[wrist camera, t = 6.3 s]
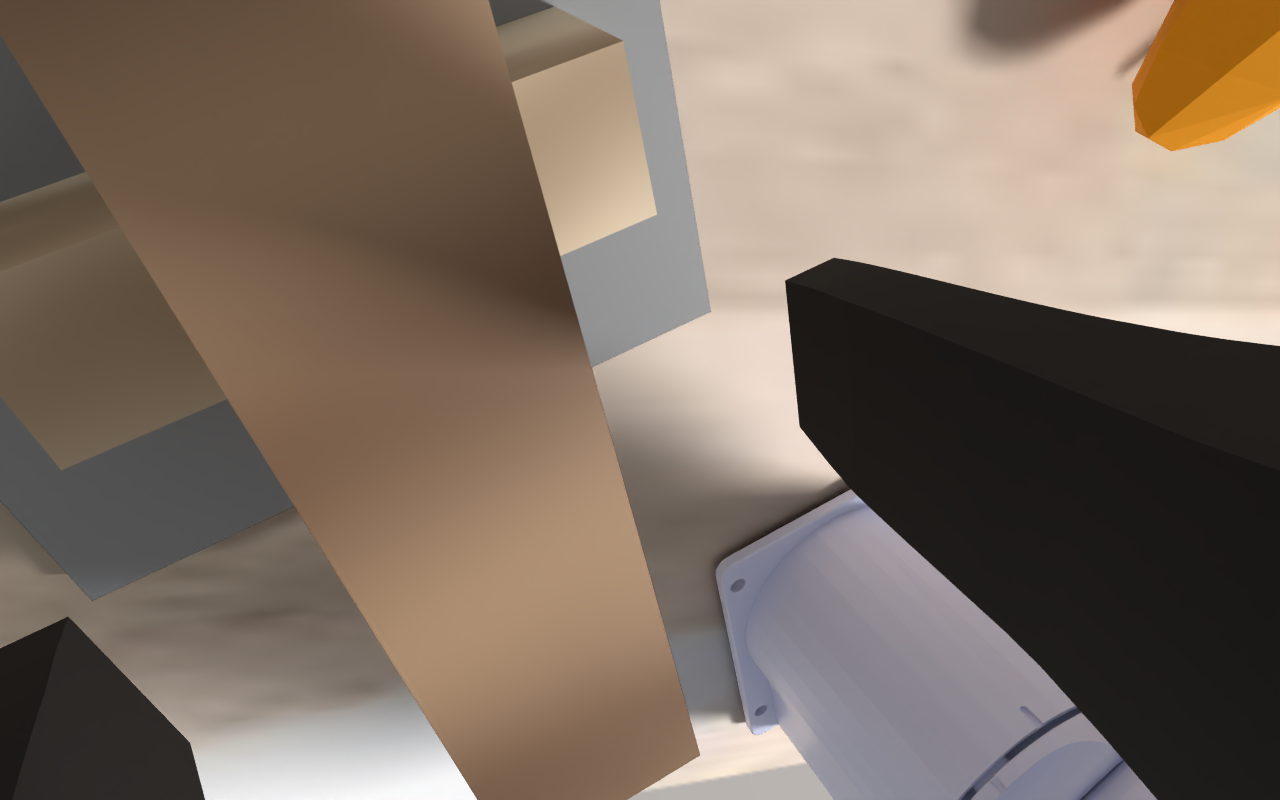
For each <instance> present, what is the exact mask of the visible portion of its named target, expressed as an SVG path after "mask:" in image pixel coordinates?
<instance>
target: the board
mask: <svg viewBox="0 0 1280 800" xmlns="http://www.w3.org/2000/svg"><path fill="white" fill-rule="evenodd" d="M489 4H490V7H491V11H492V14H493V18H494V21H495V25H496V27H498V26H501V25H503V24H506V23H509V22H512V21H515V20H518V19H520V18H523V17H526V16H529V15H532V14H535V13H537V12H540V11H543V10H546V9H549V8H552V7H554V6H555V7H557V8H559V9H561V10H563V11H565V12H567V13H569V14H571V15H573V16H575V17H577V18H579V19H581V20H583V21H585V22H587V23H589V24H591V25H593V26H595V27H597V28H599V29H601V30H603V31H605V32H607V33H609V34H611V35H613V36H615V37H617V38H619V39H621V40H623V42H624V47H625V52H626V57H627V62H628V68H629V73H630V78H631V83H632V88H633V93H634V98H635V104H636V109H637V114H638V119H639V124H640V129H641V134H642V139H643V145H644V150H645V155H646V160H647V165H648V170H649V175H650V181H651V186H652V191H653V196H654V201H655V206H656V211H657V215H655V216H652V217H650V218H648V219H646V220H643V221H641V222H639V223H636V224H634V225H632V226H629V227H627V228H625V229H622V230H620V231H618V232H615V233H613V234H611V235H608V236H606V237H604V238H601V239H599V240H597V241H594V242H592V243H590V244H587V245H585V246H583V247H580V248H578V249H576V250H573V251H571V252H569V253H566V254H564V255H562V256H560V257H561V260H562V264H563V268H564V271H565V275H566V278H567V282H568V285H569V289H570V293H571V296H572V300H573V303H574V307H575V310H576V314H577V318H578V321H579V325H580V328H581V332H582V335H583V339H584V343H585V346H586V350H587V353H588V357H589V360H590V364H591V367H594V366H596V365H598V364H600V363H602V362H604V361H606V360H609V359H611V358H613V357H615V356H617V355H619V354H621V353H624V352H626V351H628V350H630V349H632V348H634V347H636V346H639V345H641V344H643V343H645V342H647V341H649V340H651V339H653V338H656V337H658V336H660V335H662V334H664V333H666V332H668V331H671V330H673V329H675V328H677V327H679V326H681V325H683V324H686V323H688V322H690V321H692V320H694V319H696V318H698V317H701V316H703V315H705V314H707V313H709V312H711V309H710V303H709V297H708V291H707V285H706V279H705V273H704V267H703V261H702V255H701V249H700V243H699V237H698V231H697V224H696V218H695V212H694V206H693V200H692V194H691V188H690V182H689V176H688V170H687V164H686V158H685V152H684V146H683V140H682V134H681V128H680V122H679V115H678V109H677V103H676V97H675V91H674V85H673V79H672V73H671V67H670V61H669V55H668V49H667V43H666V37H665V31H664V25H663V19H662V13H661V6H660V0H489ZM84 172H86V171H85V170H84V168H83V166H82V165H81V163H80V162H79V160H78V158H77V157H76V155H75V154H74V152H73V150H72V149H71V147H70V146H69V144H68V142H67V141H66V139H65V138H64V136H63V134H62V133H61V131H60V130H59V128H58V126H57V125H56V123H55V122H54V120H53V118H52V117H51V115H50V114H49V112H48V110H47V109H46V107H45V106H44V104H43V102H42V101H41V99H40V98H39V96H38V94H37V93H36V91H35V90H34V88H33V86H32V85H31V83H30V82H29V80H28V78H27V77H26V75H25V74H24V72H23V70H22V69H21V67H20V66H19V64H18V62H17V61H16V59H15V57H14V56H13V54H12V53H11V51H10V49H9V48H8V46H7V45H6V43H5V41H4V40H3V38H2V37H1V35H0V202H2V201H5V200H8V199H10V198H13V197H16V196H19V195H22V194H25V193H27V192H30V191H33V190H36V189H39V188H42V187H44V186H47V185H50V184H53V183H56V182H59V181H61V180H64V179H67V178H70V177H73V176H76V175H78V174H81V173H84ZM0 501H1V502H2V504H3V505H4V506H5V507H6V508H7V509H8V510H9V511H10V512H11V513H12V514H13V516H14V517H15V518H16V519H17V520H18V521H19V522H20V523H21V524H22V525H23V526H24V527H25V529H26V530H27V531H28V532H29V533H30V534H31V535H32V536H33V537H34V538H35V539H36V541H37V542H38V543H39V544H40V545H41V546H42V547H43V548H44V549H45V550H46V551H47V552H48V554H49V555H50V556H51V557H52V558H53V559H54V560H55V561H56V562H57V563H58V564H59V566H60V567H61V568H62V569H63V570H64V571H65V572H66V573H67V574H68V575H69V576H70V577H71V579H72V580H73V581H74V582H75V583H76V584H77V585H78V586H79V587H80V588H81V589H82V591H83V592H84V593H85V594H86V595H87V596H88V597H89V598H90V599H91V600H92V601H93V600H95V599H97V598H99V597H102V596H104V595H106V594H108V593H110V592H112V591H114V590H117V589H119V588H121V587H123V586H125V585H127V584H129V583H132V582H134V581H136V580H138V579H140V578H142V577H144V576H147V575H149V574H151V573H153V572H155V571H157V570H159V569H162V568H164V567H166V566H168V565H170V564H172V563H174V562H176V561H179V560H181V559H183V558H185V557H187V556H189V555H191V554H194V553H196V552H198V551H200V550H202V549H204V548H206V547H209V546H211V545H213V544H215V543H217V542H219V541H221V540H224V539H226V538H228V537H230V536H232V535H234V534H236V533H239V532H241V531H243V530H245V529H247V528H249V527H251V526H253V525H256V524H258V523H260V522H262V521H264V520H266V519H268V518H271V517H273V516H275V515H277V514H279V513H281V512H283V511H286V510H288V509H290V508H292V507H294V505H293V503H292V501H291V500H290V498H289V497H288V495H287V493H286V492H285V490H284V489H283V487H282V485H281V484H280V482H279V481H278V479H277V477H276V476H275V474H274V473H273V471H272V469H271V468H270V466H269V465H268V463H267V461H266V460H265V458H264V457H263V455H262V453H261V452H260V450H259V449H258V447H257V445H256V444H255V442H254V441H253V439H252V437H251V436H250V434H249V433H248V431H247V429H246V428H245V426H244V425H243V423H242V421H241V420H240V418H239V417H238V415H237V413H236V412H235V410H234V409H233V407H232V405H231V404H230V402H229V401H228V399H226V400H224V401H222V402H219V403H217V404H215V405H212V406H210V407H208V408H205V409H203V410H201V411H198V412H196V413H194V414H191V415H189V416H187V417H184V418H182V419H180V420H177V421H175V422H173V423H170V424H168V425H166V426H163V427H161V428H159V429H156V430H154V431H152V432H149V433H147V434H145V435H142V436H140V437H138V438H135V439H133V440H131V441H128V442H126V443H124V444H121V445H119V446H117V447H114V448H112V449H110V450H107V451H105V452H103V453H100V454H98V455H96V456H93V457H91V458H89V459H86V460H84V461H82V462H79V463H77V464H75V465H72V466H70V467H68V468H65V469H63V470H61V469H60V468H59V467H58V466H57V464H56V463H55V462H54V461H53V460H52V458H51V457H50V456H49V455H48V454H47V452H46V451H45V450H44V449H43V448H42V446H41V445H40V444H39V443H38V442H37V440H36V439H35V438H34V437H33V436H32V434H31V433H30V432H29V431H28V430H27V428H26V427H25V426H24V425H23V424H22V422H21V421H20V420H19V419H18V417H17V416H16V415H15V414H14V413H13V411H12V410H11V409H10V408H9V407H8V405H7V404H6V403H5V402H4V401H3V399H2V398H1V397H0Z"/></svg>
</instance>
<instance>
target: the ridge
mask: <svg viewBox="0 0 1280 800" xmlns="http://www.w3.org/2000/svg"><path fill="white" fill-rule="evenodd" d="M496 29H497V32H498V36H499V39H500V43H501V46H502V50H503V54H504V57H505V61H506V64H507V68H508V71H509V75H510V79H511V82H512V86H513V89H514V93H515V96H516V100H517V104H518V107H519V111H520V114H521V118H522V121H523V125H524V128H525V132H526V136H527V139H528V143H529V146H530V150H531V153H532V157H533V161H534V164H535V168H536V171H537V175H538V178H539V182H540V186H541V189H542V193H543V196H544V200H545V203H546V207H547V211H548V214H549V218H550V221H551V225H552V228H553V232H554V236H555V239H556V243H557V246H558V250H559V253H560V256H562V255H564V254H566V253H569V252H571V251H573V250H576V249H578V248H580V247H583V246H585V245H587V244H590V243H592V242H594V241H597V240H599V239H601V238H604V237H606V236H608V235H611V234H613V233H615V232H618V231H620V230H622V229H625V228H627V227H629V226H632V225H634V224H636V223H639V222H641V221H643V220H646V219H648V218H650V217H652V216H655V215H657V211H656V206H655V201H654V196H653V191H652V186H651V181H650V175H649V170H648V165H647V160H646V155H645V150H644V145H643V139H642V134H641V129H640V124H639V119H638V114H637V109H636V104H635V98H634V93H633V88H632V83H631V78H630V73H629V68H628V62H627V57H626V52H625V47H624V42H623V40H621V39H619V38H617V37H615V36H613V35H611V34H609V33H607V32H605V31H603V30H601V29H599V28H597V27H595V26H593V25H591V24H589V23H587V22H585V21H583V20H581V19H579V18H577V17H575V16H573V15H571V14H569V13H567V12H565V11H563V10H561V9H559V8H557V7H555V6H554V7H552V8H549V9H546V10H543V11H540V12H537V13H535V14H532V15H529V16H526V17H523V18H520V19H518V20H515V21H512V22H509V23H506V24H503V25H501V26H498V27H496ZM0 397H1V398H2V399H3V401H4V402H5V403H6V404H7V405H8V407H9V408H10V409H11V410H12V411H13V413H14V414H15V415H16V416H17V417H18V419H19V420H20V421H21V422H22V424H23V425H24V426H25V427H26V428H27V430H28V431H29V432H30V433H31V434H32V436H33V437H34V438H35V439H36V440H37V442H38V443H39V444H40V445H41V446H42V448H43V449H44V450H45V451H46V452H47V454H48V455H49V456H50V457H51V458H52V460H53V461H54V462H55V463H56V464H57V466H58V467H59V468H60V469H61V470H63V469H65V468H68V467H70V466H72V465H75V464H77V463H79V462H82V461H84V460H86V459H89V458H91V457H93V456H96V455H98V454H100V453H103V452H105V451H107V450H110V449H112V448H114V447H117V446H119V445H121V444H124V443H126V442H128V441H131V440H133V439H135V438H138V437H140V436H142V435H145V434H147V433H149V432H152V431H154V430H156V429H159V428H161V427H163V426H166V425H168V424H170V423H173V422H175V421H177V420H180V419H182V418H184V417H187V416H189V415H191V414H194V413H196V412H198V411H201V410H203V409H205V408H208V407H210V406H212V405H215V404H217V403H219V402H222V401H224V400H226V399H227V397H226V396H225V394H224V392H223V391H222V389H221V388H220V386H219V384H218V383H217V381H216V380H215V378H214V376H213V375H212V373H211V372H210V370H209V368H208V367H207V365H206V364H205V362H204V360H203V359H202V357H201V356H200V354H199V352H198V351H197V349H196V348H195V346H194V344H193V343H192V341H191V340H190V338H189V336H188V335H187V333H186V332H185V330H184V328H183V327H182V325H181V324H180V322H179V320H178V319H177V317H176V316H175V314H174V312H173V311H172V309H171V308H170V306H169V304H168V303H167V301H166V300H165V298H164V296H163V295H162V293H161V292H160V290H159V288H158V287H157V285H156V283H155V282H154V280H153V279H152V277H151V275H150V274H149V272H148V271H147V269H146V267H145V266H144V264H143V263H142V261H141V259H140V258H139V256H138V255H137V253H136V251H135V250H134V248H133V247H132V245H131V243H130V242H129V240H128V239H127V237H126V235H125V234H124V232H123V231H122V229H121V227H120V226H119V224H118V223H117V221H116V219H115V218H114V216H113V215H112V213H111V211H110V210H109V208H108V207H107V205H106V203H105V202H104V200H103V199H102V197H101V195H100V194H99V192H98V191H97V189H96V187H95V186H94V184H93V183H92V181H91V179H90V178H89V176H88V175H87V173H86V172H84V173H81V174H78V175H76V176H73V177H70V178H67V179H64V180H61V181H59V182H56V183H53V184H50V185H47V186H44V187H42V188H39V189H36V190H33V191H30V192H27V193H25V194H22V195H19V196H16V197H13V198H10V199H8V200H5V201H2V202H0Z"/></svg>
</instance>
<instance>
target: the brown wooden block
mask: <svg viewBox="0 0 1280 800" xmlns="http://www.w3.org/2000/svg"><path fill="white" fill-rule="evenodd" d="M0 35H1V37H2V38H3V40H4V41H5V43H6V45H7V46H8V48H9V49H10V51H11V53H12V54H13V56H14V57H15V59H16V61H17V62H18V64H19V66H20V67H21V69H22V70H23V72H24V74H25V75H26V77H27V78H28V80H29V82H30V83H31V85H32V86H33V88H34V90H35V91H36V93H37V94H38V96H39V98H40V99H41V101H42V102H43V104H44V106H45V107H46V109H47V110H48V112H49V114H50V115H51V117H52V118H53V120H54V122H55V123H56V125H57V126H58V128H59V130H60V131H61V133H62V134H63V136H64V138H65V139H66V141H67V142H68V144H69V146H70V147H71V149H72V150H73V152H74V154H75V155H76V157H77V158H78V160H79V162H80V163H81V165H82V166H83V168H84V170H85V171H86V173H87V175H88V176H89V178H90V179H91V181H92V183H93V184H94V186H95V187H96V189H97V191H98V192H99V194H100V195H101V197H102V199H103V200H104V202H105V203H106V205H107V207H108V208H109V210H110V211H111V213H112V215H113V216H114V218H115V219H116V221H117V223H118V224H119V226H120V227H121V229H122V231H123V232H124V234H125V235H126V237H127V239H128V240H129V242H130V243H131V245H132V247H133V248H134V250H135V251H136V253H137V255H138V256H139V258H140V259H141V261H142V263H143V264H144V266H145V267H146V269H147V271H148V272H149V274H150V275H151V277H152V279H153V280H154V282H155V283H156V285H157V287H158V288H159V290H160V292H161V293H162V295H163V296H164V298H165V300H166V301H167V303H168V304H169V306H170V308H171V309H172V311H173V312H174V314H175V316H176V317H177V319H178V320H179V322H180V324H181V325H182V327H183V328H184V330H185V332H186V333H187V335H188V336H189V338H190V340H191V341H192V343H193V344H194V346H195V348H196V349H197V351H198V352H199V354H200V356H201V357H202V359H203V360H204V362H205V364H206V365H207V367H208V368H209V370H210V372H211V373H212V375H213V376H214V378H215V380H216V381H217V383H218V384H219V386H220V388H221V389H222V391H223V392H224V394H225V396H226V397H227V399H228V401H229V402H230V404H231V405H232V407H233V409H234V410H235V412H236V413H237V415H238V417H239V418H240V420H241V421H242V423H243V425H244V426H245V428H246V429H247V431H248V433H249V434H250V436H251V437H252V439H253V441H254V442H255V444H256V445H257V447H258V449H259V450H260V452H261V453H262V455H263V457H264V458H265V460H266V461H267V463H268V465H269V466H270V468H271V469H272V471H273V473H274V474H275V476H276V477H277V479H278V481H279V482H280V484H281V485H282V487H283V489H284V490H285V492H286V493H287V495H288V497H289V498H290V500H291V501H292V503H293V505H294V506H295V508H296V510H297V511H298V513H299V514H300V516H301V518H302V519H303V521H304V522H305V524H306V526H307V527H308V529H309V530H310V532H311V534H312V535H313V537H314V538H315V540H316V542H317V543H318V545H319V546H320V548H321V550H322V551H323V553H324V554H325V556H326V558H327V559H328V561H329V562H330V564H331V566H332V567H333V569H334V570H335V572H336V574H337V575H338V577H339V578H340V580H341V582H342V583H343V585H344V586H345V588H346V590H347V591H348V593H349V594H350V596H351V598H352V599H353V601H354V602H355V604H356V606H357V607H358V609H359V610H360V612H361V614H362V615H363V617H364V619H365V620H366V622H367V623H368V625H369V627H370V628H371V630H372V631H373V633H374V635H375V636H376V638H377V639H378V641H379V643H380V644H381V646H382V647H383V649H384V651H385V652H386V654H387V655H388V657H389V659H390V660H391V662H392V663H393V665H394V667H395V668H396V670H397V671H398V673H399V675H400V676H401V678H402V679H403V681H404V683H405V684H406V686H407V687H408V689H409V691H410V692H411V694H412V695H413V697H414V699H415V700H416V702H417V703H418V705H419V707H420V708H421V710H422V711H423V713H424V715H425V716H426V718H427V719H428V721H429V723H430V724H431V726H432V728H433V729H434V731H435V732H436V734H437V736H438V737H439V739H440V740H441V742H442V744H443V745H444V747H445V748H446V750H447V752H448V753H449V755H450V756H451V758H452V760H453V761H454V763H455V764H456V766H457V768H458V769H459V771H460V772H461V774H462V776H463V777H464V779H465V780H466V782H467V784H468V785H469V787H470V788H471V790H472V792H473V793H474V795H475V796H476V798H477V800H627V799H629V798H631V797H632V796H634V795H635V794H637V793H639V792H640V791H642V790H644V789H645V788H647V787H649V786H650V785H652V784H654V783H655V782H657V781H659V780H660V779H662V778H664V777H665V776H667V775H668V774H670V773H672V772H673V771H675V770H677V769H678V768H680V767H682V766H683V765H685V764H687V763H688V762H690V761H692V760H693V759H695V758H696V757H698V756H700V753H699V749H698V746H697V742H696V739H695V735H694V731H693V728H692V724H691V721H690V717H689V714H688V710H687V706H686V703H685V699H684V696H683V692H682V689H681V685H680V681H679V678H678V674H677V671H676V667H675V664H674V660H673V656H672V653H671V649H670V646H669V642H668V639H667V635H666V632H665V628H664V624H663V621H662V617H661V614H660V610H659V607H658V603H657V599H656V596H655V592H654V589H653V585H652V582H651V578H650V574H649V571H648V567H647V564H646V560H645V557H644V553H643V549H642V546H641V542H640V539H639V535H638V532H637V528H636V524H635V521H634V517H633V514H632V510H631V507H630V503H629V500H628V496H627V492H626V489H625V485H624V482H623V478H622V475H621V471H620V467H619V464H618V460H617V457H616V453H615V450H614V446H613V442H612V439H611V435H610V432H609V428H608V425H607V421H606V417H605V414H604V410H603V407H602V403H601V400H600V396H599V392H598V389H597V385H596V382H595V378H594V375H593V371H592V368H591V364H590V360H589V357H588V353H587V350H586V346H585V343H584V339H583V335H582V332H581V328H580V325H579V321H578V318H577V314H576V310H575V307H574V303H573V300H572V296H571V293H570V289H569V285H568V282H567V278H566V275H565V271H564V268H563V264H562V260H561V257H560V253H559V250H558V246H557V243H556V239H555V236H554V232H553V228H552V225H551V221H550V218H549V214H548V211H547V207H546V203H545V200H544V196H543V193H542V189H541V186H540V182H539V178H538V175H537V171H536V168H535V164H534V161H533V157H532V153H531V150H530V146H529V143H528V139H527V136H526V132H525V128H524V125H523V121H522V118H521V114H520V111H519V107H518V104H517V100H516V96H515V93H514V89H513V86H512V82H511V79H510V75H509V71H508V68H507V64H506V61H505V57H504V54H503V50H502V46H501V43H500V39H499V36H498V32H497V29H496V25H495V21H494V18H493V14H492V11H491V7H490V4H489V0H0Z"/></svg>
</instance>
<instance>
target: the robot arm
mask: <svg viewBox="0 0 1280 800" xmlns="http://www.w3.org/2000/svg"><path fill="white" fill-rule="evenodd" d="M785 284H786V294H787V304H788V314H789V324H790V334H791V344H792V354H793V364H794V374H795V384H796V394H797V404H798V414H799V424H800V428H801V429H802V430H803V431H804V433H805V434H806V435H807V436H808V438H809V439H810V440H811V441H812V443H813V444H814V445H815V446H816V448H817V449H818V450H819V451H820V453H821V454H822V455H823V456H824V458H825V459H826V460H827V461H828V463H829V464H830V465H831V466H832V467H833V469H834V470H835V471H836V472H837V473H838V474H839V476H840V477H841V478H842V479H843V480H844V481H845V483H846V484H847V485H848V486H849V487H850V488H851V489H850V490H848V491H847V492H845V493H843V494H841V495H839V496H837V497H836V498H834V499H832V500H830V501H828V502H827V503H825V504H823V505H821V506H819V507H817V508H816V509H814V510H812V511H810V512H808V513H806V514H805V515H803V516H801V517H799V518H797V519H796V520H794V521H792V522H790V523H788V524H786V525H785V526H783V527H781V528H779V529H777V530H775V531H774V532H772V533H770V534H768V535H766V536H765V537H763V538H761V539H759V540H757V541H755V542H754V543H752V544H750V545H748V546H746V547H744V548H743V549H741V550H739V551H737V552H735V553H734V554H732V555H730V556H728V557H726V558H725V559H724V560H722V561H721V563H720V564H719V565H718V567H717V569H716V580H717V585H718V590H719V594H720V599H721V604H722V609H723V614H724V618H725V623H726V628H727V633H728V638H729V642H730V647H731V652H732V657H733V662H734V666H735V671H736V676H737V681H738V686H739V691H740V695H741V700H742V705H743V710H744V715H745V719H746V724H747V726H748V728H749V729H750V731H751V732H752V734H754V735H760V734H763V733H765V732H766V731H768V730H770V729H771V728H773V727H775V726H776V725H778V724H779V726H780V727H781V728H782V730H783V731H784V732H785V734H786V735H787V736H788V738H789V739H790V740H791V742H792V743H793V745H794V746H795V747H796V749H797V750H798V751H799V753H800V754H801V755H802V757H803V758H804V759H805V761H806V762H807V764H808V765H809V766H810V768H811V769H812V770H813V772H814V773H815V774H816V776H817V777H818V778H819V780H820V781H821V782H822V784H823V785H824V787H825V788H826V789H827V791H828V792H829V793H830V795H831V796H832V797H833V799H834V800H1280V346H1274V345H1266V344H1258V343H1250V342H1242V341H1234V340H1226V339H1219V338H1213V337H1206V336H1200V335H1193V334H1187V333H1181V332H1175V331H1169V330H1164V329H1159V328H1153V327H1148V326H1142V325H1137V324H1132V323H1126V322H1121V321H1115V320H1110V319H1105V318H1100V317H1095V316H1090V315H1085V314H1081V313H1076V312H1071V311H1066V310H1062V309H1057V308H1053V307H1048V306H1044V305H1039V304H1035V303H1030V302H1026V301H1022V300H1017V299H1013V298H1009V297H1004V296H1000V295H996V294H992V293H988V292H984V291H979V290H975V289H971V288H967V287H963V286H959V285H955V284H951V283H946V282H942V281H938V280H934V279H930V278H926V277H922V276H918V275H913V274H909V273H905V272H901V271H897V270H892V269H888V268H884V267H879V266H875V265H870V264H865V263H860V262H855V261H849V260H844V259H838V258H832V259H830V260H828V261H826V262H824V263H822V264H820V265H818V266H815V267H813V268H811V269H809V270H807V271H805V272H803V273H800V274H798V275H796V276H794V277H792V278H790V279H788V280H786V281H785ZM0 800H205V798H204V794H203V790H202V786H201V783H200V779H199V775H198V771H197V767H196V764H195V760H194V756H193V752H192V748H191V745H190V742H189V741H188V740H187V739H186V738H185V737H184V736H183V735H182V734H181V733H180V732H179V731H178V730H177V729H176V728H175V727H174V726H173V725H172V724H171V723H170V722H169V721H168V720H167V719H166V717H165V716H164V715H163V714H162V713H161V712H160V711H159V710H158V709H157V708H156V707H155V706H154V705H153V704H152V703H151V702H150V701H149V700H148V699H147V698H146V697H145V696H144V695H143V694H142V693H141V692H140V691H139V689H138V688H137V687H136V686H135V685H134V684H133V683H132V682H131V681H130V680H129V679H128V678H127V677H126V676H125V675H124V674H123V673H122V672H121V671H120V670H119V669H118V668H117V667H116V666H115V665H114V664H113V663H112V661H111V660H110V659H109V658H108V657H107V656H106V655H105V654H104V653H103V652H102V651H101V650H100V649H99V648H98V647H97V646H96V645H95V644H94V643H93V642H92V641H91V640H90V639H89V638H88V637H87V636H86V634H85V633H84V632H83V631H82V630H81V629H80V628H79V627H78V626H77V625H76V624H75V623H74V622H73V621H72V620H71V619H70V618H69V617H66V618H64V619H62V620H60V621H58V622H56V623H54V624H51V625H49V626H47V627H45V628H43V629H41V630H39V631H37V632H34V633H32V634H30V635H28V636H26V637H24V638H22V639H19V640H17V641H15V642H13V643H11V644H9V645H7V646H5V647H2V648H0Z"/></svg>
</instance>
